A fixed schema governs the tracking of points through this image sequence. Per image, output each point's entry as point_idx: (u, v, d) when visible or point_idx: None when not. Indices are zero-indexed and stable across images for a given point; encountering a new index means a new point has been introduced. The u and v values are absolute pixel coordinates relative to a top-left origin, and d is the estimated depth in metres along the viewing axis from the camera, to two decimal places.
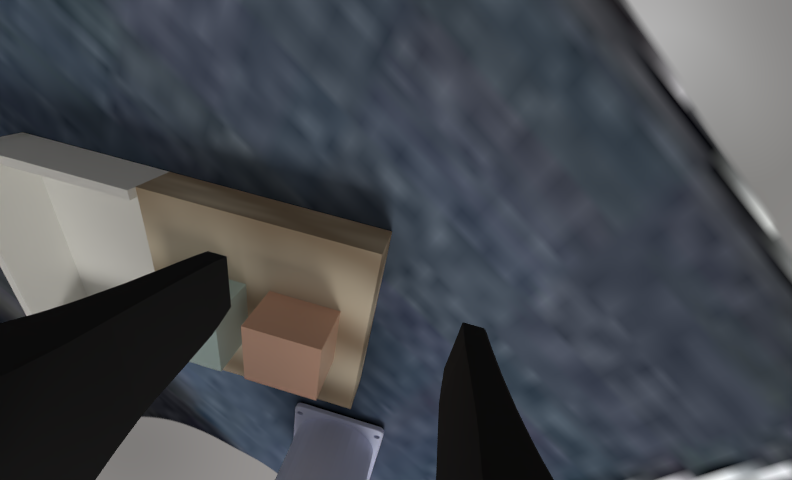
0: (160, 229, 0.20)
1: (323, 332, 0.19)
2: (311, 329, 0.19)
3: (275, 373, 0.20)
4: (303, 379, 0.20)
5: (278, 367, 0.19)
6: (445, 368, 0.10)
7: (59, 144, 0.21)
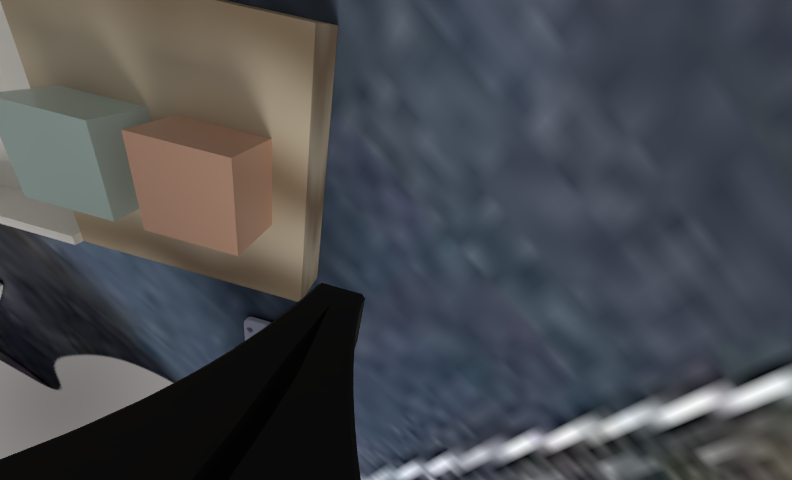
0: (28, 23, 0.15)
1: (240, 148, 0.14)
2: (223, 143, 0.14)
3: (180, 213, 0.15)
4: (216, 219, 0.14)
5: (181, 202, 0.14)
6: None
7: None
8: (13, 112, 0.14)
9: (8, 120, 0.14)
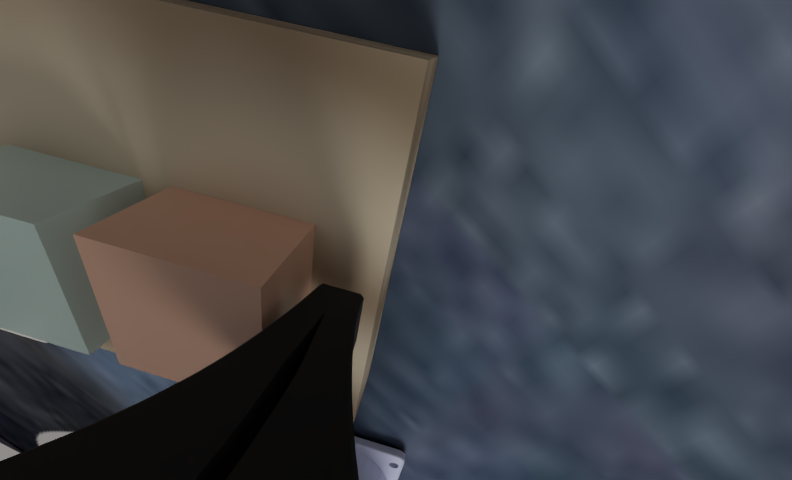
0: None
1: (272, 256, 0.08)
2: (244, 248, 0.08)
3: (174, 350, 0.09)
4: None
5: (176, 337, 0.09)
6: None
7: None
8: None
9: None
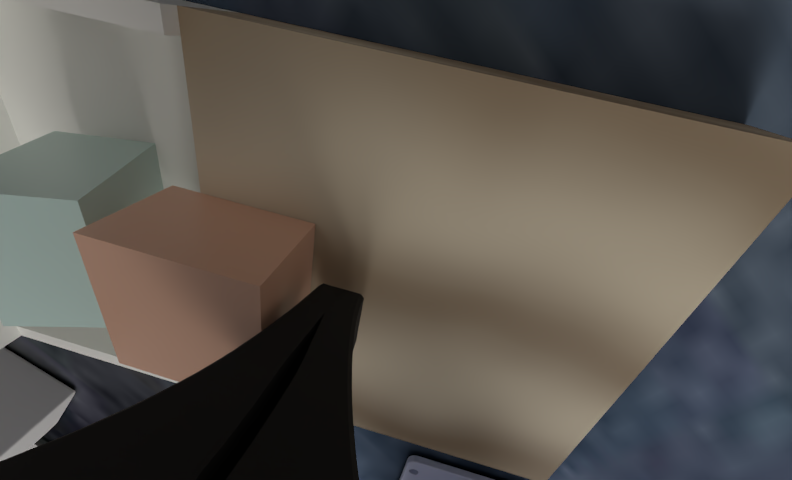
0: (228, 124, 0.09)
1: (271, 254, 0.08)
2: (244, 247, 0.08)
3: (173, 349, 0.09)
4: None
5: (175, 336, 0.09)
6: None
7: None
8: None
9: None
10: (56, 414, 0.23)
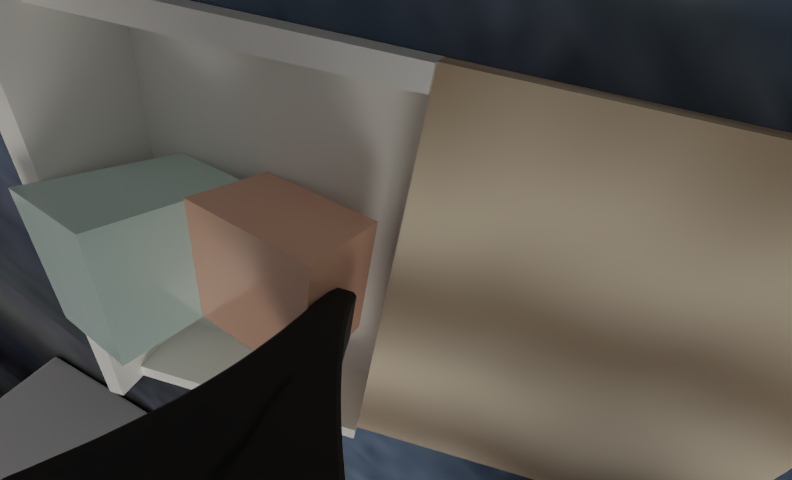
0: (456, 179, 0.08)
1: (329, 241, 0.09)
2: (308, 231, 0.09)
3: (240, 312, 0.10)
4: None
5: (242, 300, 0.10)
6: None
7: (195, 2, 0.10)
8: None
9: None
10: None
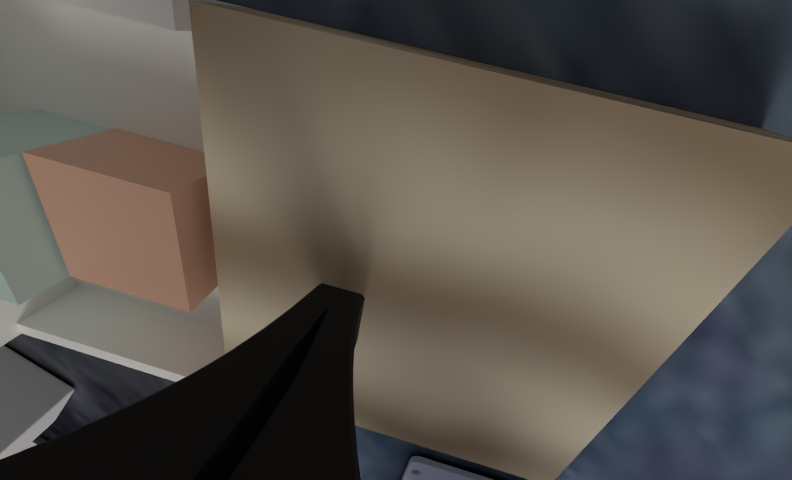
0: (238, 121, 0.09)
1: (187, 176, 0.10)
2: (165, 170, 0.10)
3: (112, 259, 0.11)
4: (158, 268, 0.11)
5: (112, 246, 0.11)
6: None
7: None
8: None
9: None
10: (55, 412, 0.23)
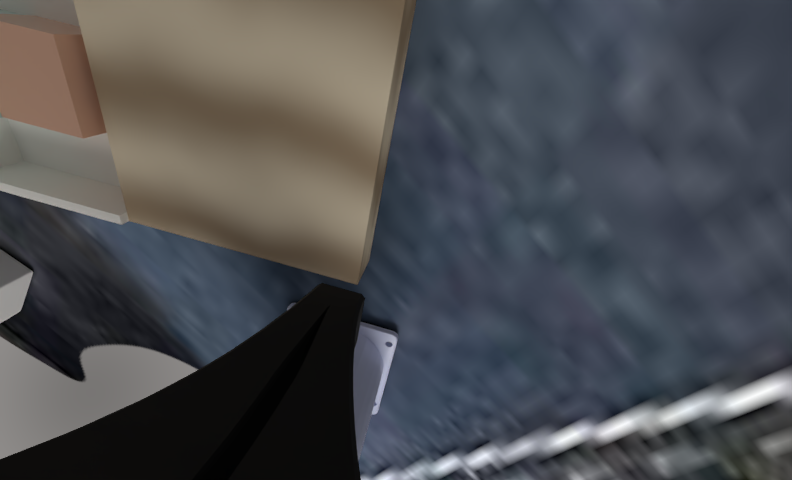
0: None
1: (72, 32, 0.16)
2: (57, 29, 0.16)
3: (26, 96, 0.16)
4: (56, 100, 0.16)
5: (25, 84, 0.16)
6: None
7: None
8: None
9: None
10: (17, 291, 0.29)
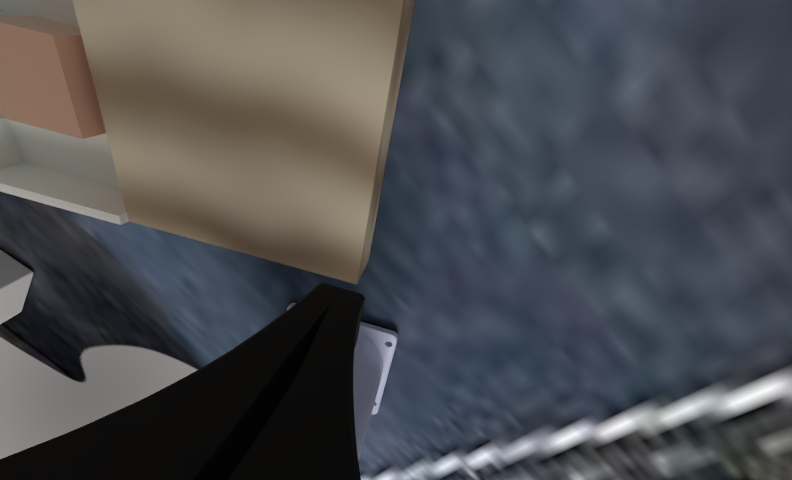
0: None
1: (71, 33, 0.16)
2: (57, 30, 0.16)
3: (26, 97, 0.16)
4: (56, 100, 0.16)
5: (24, 85, 0.16)
6: None
7: None
8: None
9: None
10: (17, 292, 0.29)
